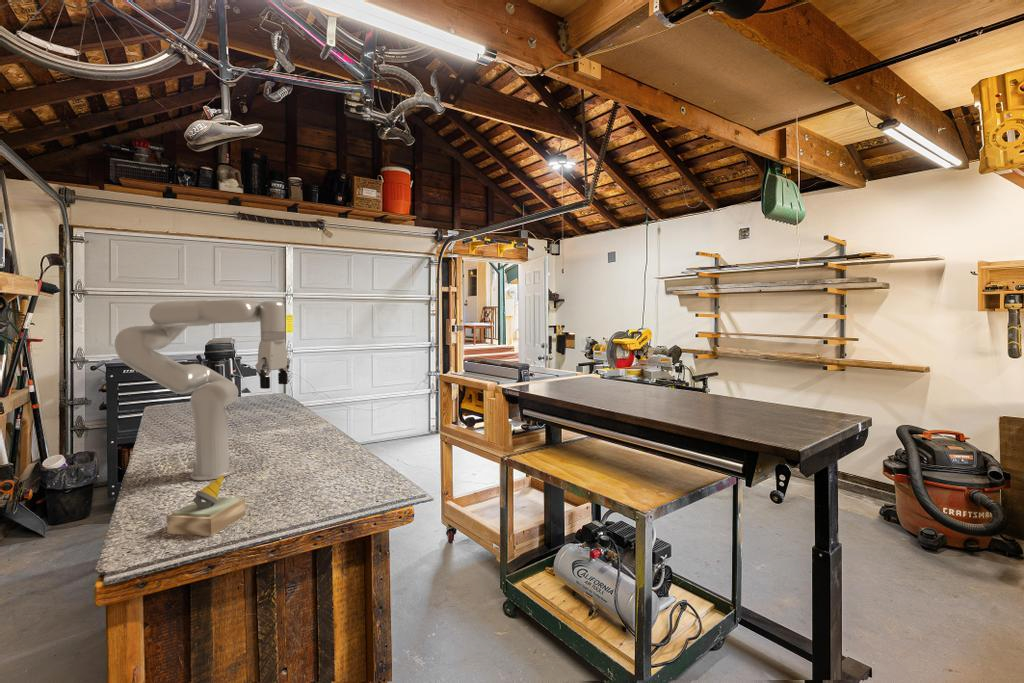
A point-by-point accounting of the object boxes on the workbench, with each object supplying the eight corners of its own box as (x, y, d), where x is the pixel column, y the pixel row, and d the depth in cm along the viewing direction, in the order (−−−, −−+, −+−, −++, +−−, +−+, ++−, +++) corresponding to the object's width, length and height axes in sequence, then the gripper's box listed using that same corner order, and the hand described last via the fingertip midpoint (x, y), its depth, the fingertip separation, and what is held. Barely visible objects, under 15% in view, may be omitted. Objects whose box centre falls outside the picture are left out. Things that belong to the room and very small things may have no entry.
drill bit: (189, 507, 117) (217, 473, 123) (209, 516, 117) (235, 481, 123) (184, 502, 113) (212, 466, 119) (203, 510, 113) (231, 475, 119)
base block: (167, 533, 113) (166, 513, 112) (205, 512, 124) (204, 495, 124) (211, 536, 111) (210, 516, 111) (245, 514, 123) (244, 497, 123)
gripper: (278, 335, 164) (279, 382, 165) (245, 338, 147) (247, 390, 147) (297, 336, 163) (299, 382, 164) (266, 338, 146) (268, 390, 147)
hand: (274, 386), depth 156 cm, fingers open, 9 cm apart
